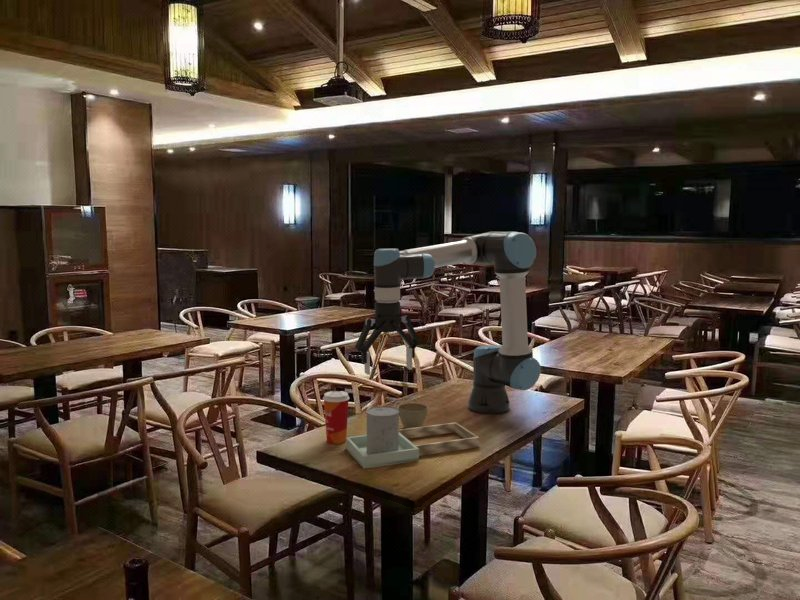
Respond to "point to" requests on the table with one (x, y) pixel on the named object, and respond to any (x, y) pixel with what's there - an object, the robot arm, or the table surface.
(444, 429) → the corral
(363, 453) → the bin
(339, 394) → the coffee cup
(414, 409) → the flower pot
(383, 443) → the speckled stone pillar
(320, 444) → the table surface
